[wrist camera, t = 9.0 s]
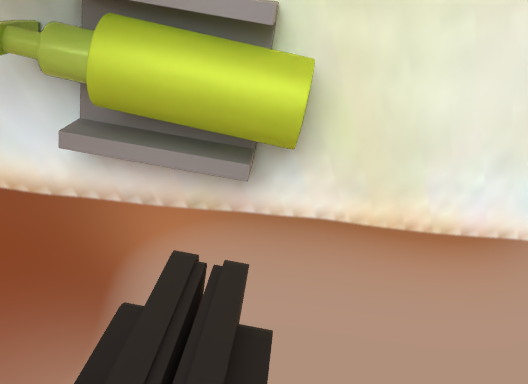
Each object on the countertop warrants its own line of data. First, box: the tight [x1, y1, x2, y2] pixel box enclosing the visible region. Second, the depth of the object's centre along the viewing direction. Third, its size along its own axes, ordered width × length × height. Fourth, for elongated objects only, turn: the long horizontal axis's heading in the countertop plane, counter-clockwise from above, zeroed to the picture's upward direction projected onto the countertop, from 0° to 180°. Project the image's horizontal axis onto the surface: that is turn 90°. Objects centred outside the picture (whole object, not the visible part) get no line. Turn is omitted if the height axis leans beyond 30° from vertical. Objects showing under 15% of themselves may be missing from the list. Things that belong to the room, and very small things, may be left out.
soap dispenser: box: [0, 13, 315, 149], centre depth 32 cm, size 6×7×20 cm
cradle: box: [59, 0, 279, 181], centre depth 34 cm, size 13×11×4 cm
